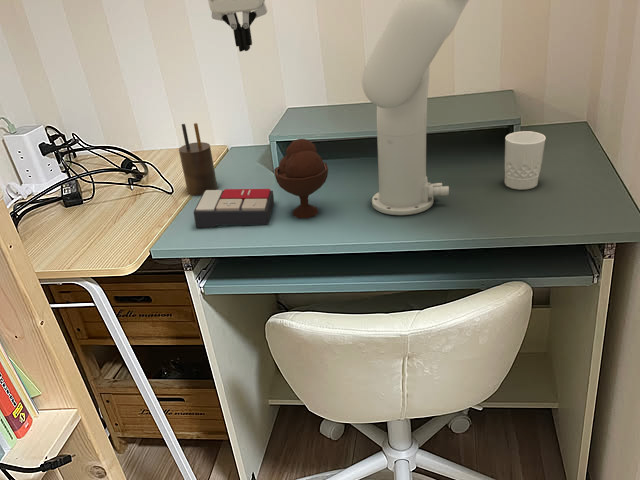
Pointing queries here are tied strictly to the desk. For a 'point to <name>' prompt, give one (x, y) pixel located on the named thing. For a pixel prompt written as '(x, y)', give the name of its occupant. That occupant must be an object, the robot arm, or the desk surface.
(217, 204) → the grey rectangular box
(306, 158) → the ice cream bowl
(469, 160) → the desk surface
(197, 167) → the pencil cup
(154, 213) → the desk surface
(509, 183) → the white cup
